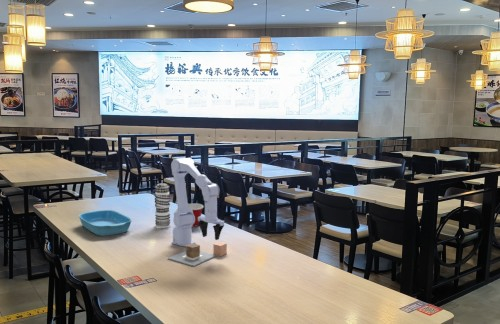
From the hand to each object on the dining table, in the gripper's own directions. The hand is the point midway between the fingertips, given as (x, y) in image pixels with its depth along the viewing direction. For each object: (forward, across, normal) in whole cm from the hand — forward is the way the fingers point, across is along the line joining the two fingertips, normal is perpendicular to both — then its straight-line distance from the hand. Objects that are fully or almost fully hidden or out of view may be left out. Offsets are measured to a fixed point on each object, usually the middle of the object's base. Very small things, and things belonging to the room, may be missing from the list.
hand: (210, 237), depth 201 cm
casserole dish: (+9, +76, +3) cm, 77 cm away
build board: (+8, +5, +8) cm, 12 cm away
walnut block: (+8, +5, +8) cm, 12 cm away
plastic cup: (+9, +40, -33) cm, 52 cm away
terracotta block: (+9, -2, -4) cm, 10 cm away
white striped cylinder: (+8, +54, -20) cm, 58 cm away
